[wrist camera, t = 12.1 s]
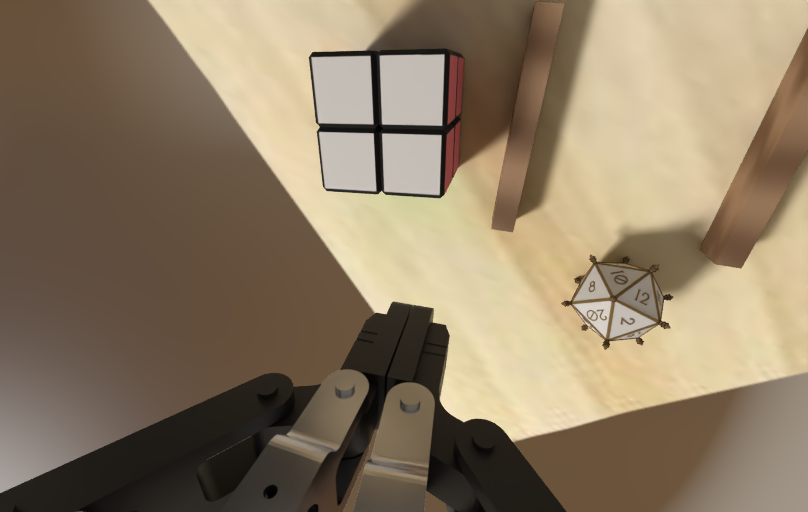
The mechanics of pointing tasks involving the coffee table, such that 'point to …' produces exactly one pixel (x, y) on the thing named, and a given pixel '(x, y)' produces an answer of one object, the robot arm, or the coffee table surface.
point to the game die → (619, 301)
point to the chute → (752, 186)
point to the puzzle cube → (388, 120)
